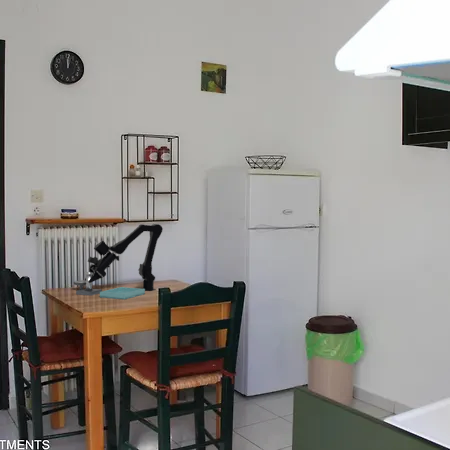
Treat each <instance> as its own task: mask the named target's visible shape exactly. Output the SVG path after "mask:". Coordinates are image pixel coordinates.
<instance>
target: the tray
mask: <svg viewBox="0 0 450 450" xmlns="http://www.w3.org/2000/svg"><path fill="white" fill-rule="evenodd" d="M145 294H146V291H145V289H143V288H139V287H138V288H136V287H127V286H125V287H123V286H119V287H115V288H110V289H107V290H102V291H101V292H100V294H99V298H101V299H102V298H103V299H104V298H105V299H115V300H127V299H128V300H129V299H132V298H135V297H139V296H144V295H145Z"/></svg>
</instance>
